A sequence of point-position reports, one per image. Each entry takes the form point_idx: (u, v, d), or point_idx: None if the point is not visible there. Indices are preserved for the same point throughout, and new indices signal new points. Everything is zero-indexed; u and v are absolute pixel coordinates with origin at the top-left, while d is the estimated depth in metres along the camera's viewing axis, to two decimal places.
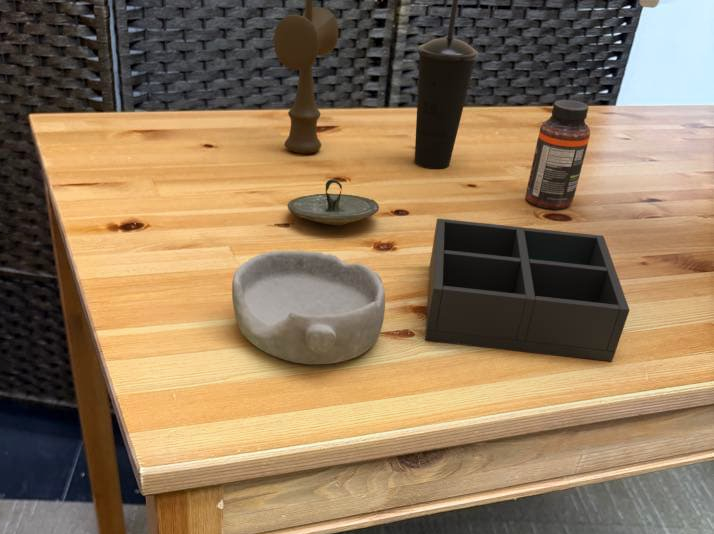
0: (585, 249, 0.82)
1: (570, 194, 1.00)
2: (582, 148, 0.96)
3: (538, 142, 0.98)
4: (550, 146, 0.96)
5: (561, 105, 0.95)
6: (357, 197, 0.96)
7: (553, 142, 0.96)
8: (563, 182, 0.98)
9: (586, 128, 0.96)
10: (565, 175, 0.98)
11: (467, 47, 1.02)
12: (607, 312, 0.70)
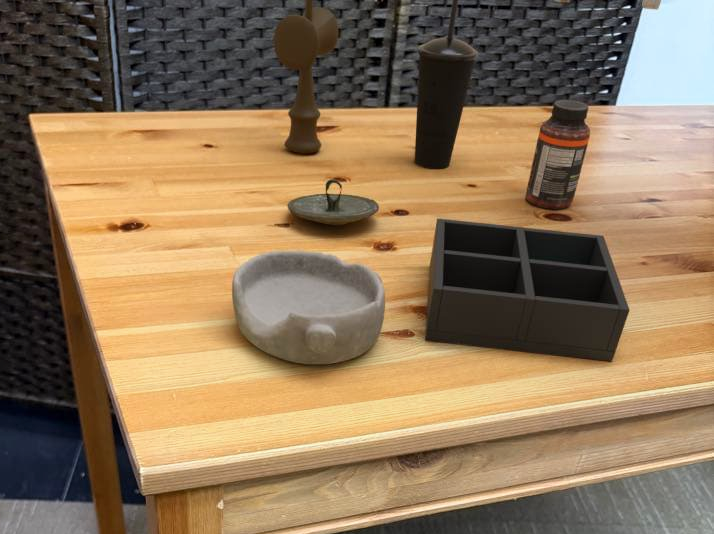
0: (585, 249, 0.82)
1: (570, 194, 1.00)
2: (582, 148, 0.96)
3: (538, 142, 0.98)
4: (550, 146, 0.96)
5: (561, 105, 0.95)
6: (357, 197, 0.96)
7: (553, 142, 0.96)
8: (563, 182, 0.98)
9: (586, 128, 0.96)
10: (565, 175, 0.98)
11: (467, 47, 1.02)
12: (607, 312, 0.70)
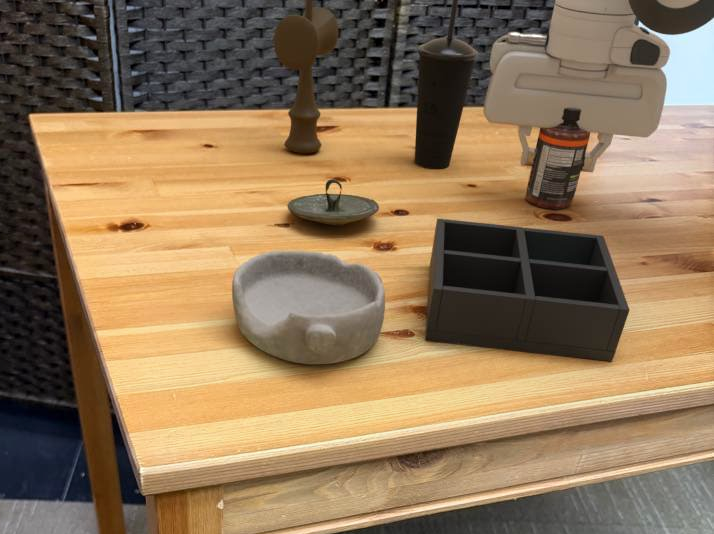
0: (585, 249, 0.82)
1: (570, 194, 1.00)
2: (582, 148, 0.96)
3: (538, 142, 0.98)
4: (549, 146, 0.96)
5: None
6: (357, 197, 0.96)
7: (553, 142, 0.96)
8: (563, 182, 0.98)
9: None
10: (565, 176, 0.98)
11: (467, 47, 1.02)
12: (607, 312, 0.70)
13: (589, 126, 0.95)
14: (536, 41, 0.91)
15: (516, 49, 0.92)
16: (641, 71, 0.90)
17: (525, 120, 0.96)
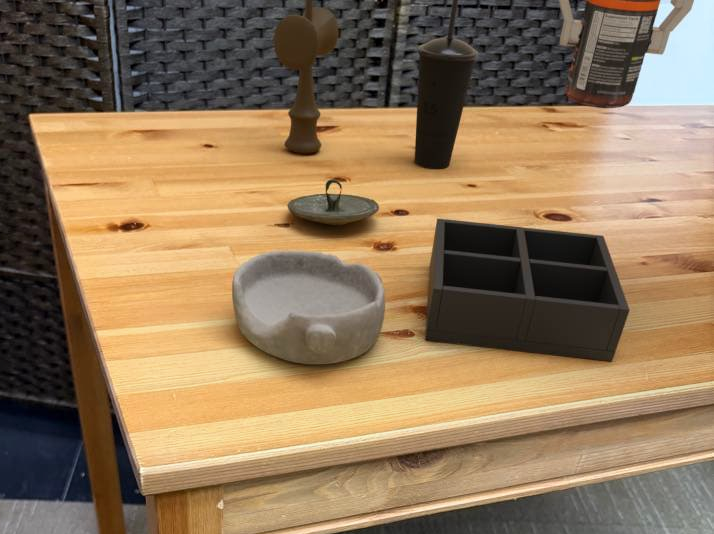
0: (585, 249, 0.82)
1: (630, 87, 0.71)
2: (651, 14, 0.67)
3: (586, 9, 0.69)
4: (604, 11, 0.67)
5: None
6: (357, 197, 0.96)
7: (609, 4, 0.67)
8: (621, 66, 0.69)
9: None
10: (624, 56, 0.69)
11: (467, 47, 1.02)
12: (607, 312, 0.70)
13: None
14: None
15: None
16: None
17: None
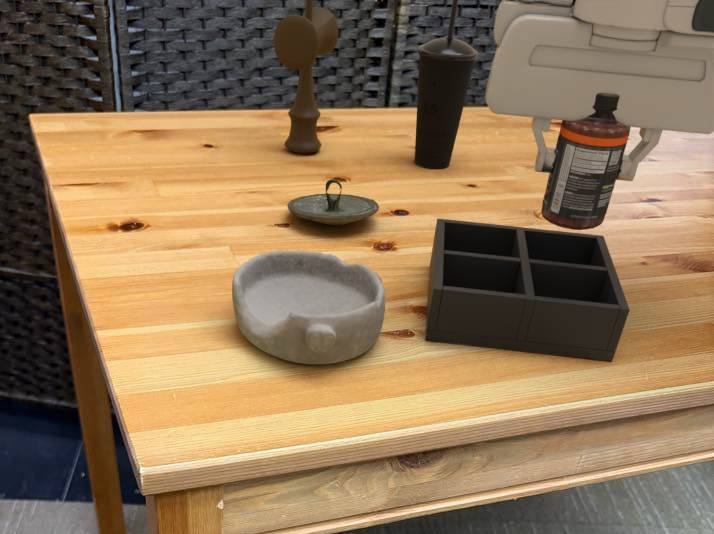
0: (585, 249, 0.82)
1: (602, 211, 0.74)
2: (620, 148, 0.71)
3: (559, 140, 0.72)
4: (575, 145, 0.71)
5: None
6: (357, 197, 0.96)
7: (580, 140, 0.70)
8: (592, 194, 0.73)
9: None
10: (596, 186, 0.72)
11: (467, 47, 1.02)
12: (607, 312, 0.70)
13: (630, 118, 0.69)
14: None
15: (531, 11, 0.66)
16: (706, 41, 0.64)
17: (542, 110, 0.70)
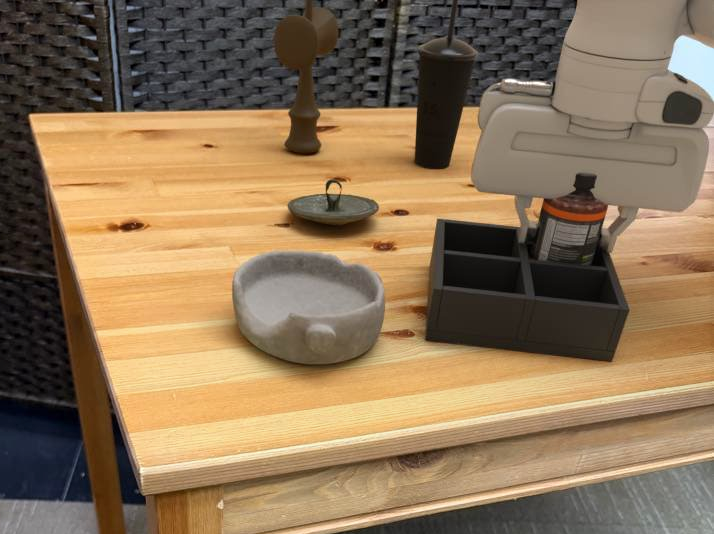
0: None
1: None
2: (598, 222, 0.75)
3: (542, 213, 0.77)
4: (556, 219, 0.75)
5: None
6: (357, 197, 0.96)
7: (561, 215, 0.75)
8: None
9: None
10: (576, 256, 0.77)
11: (467, 47, 1.02)
12: (607, 312, 0.70)
13: (607, 197, 0.74)
14: (539, 91, 0.70)
15: (513, 100, 0.71)
16: (676, 131, 0.69)
17: (524, 189, 0.74)
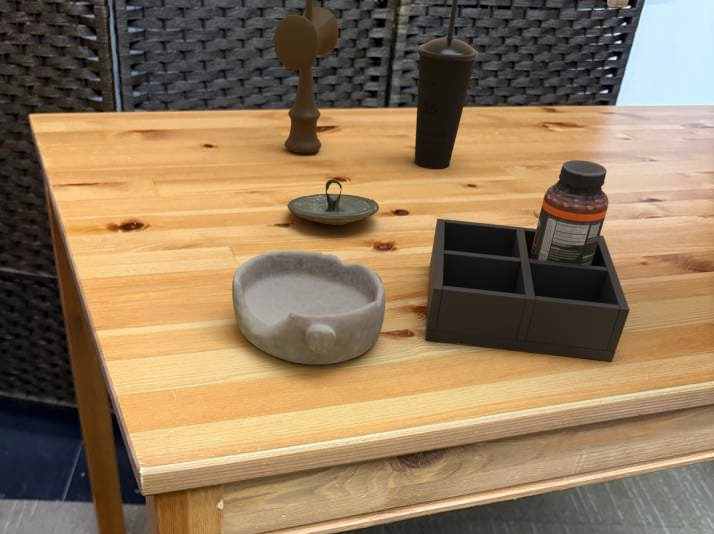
0: None
1: None
2: (598, 222, 0.75)
3: (542, 213, 0.77)
4: (556, 219, 0.75)
5: (571, 169, 0.73)
6: (357, 197, 0.96)
7: (561, 215, 0.75)
8: None
9: (603, 197, 0.75)
10: (576, 256, 0.77)
11: (467, 47, 1.02)
12: (607, 312, 0.70)
13: None
14: None
15: None
16: None
17: None
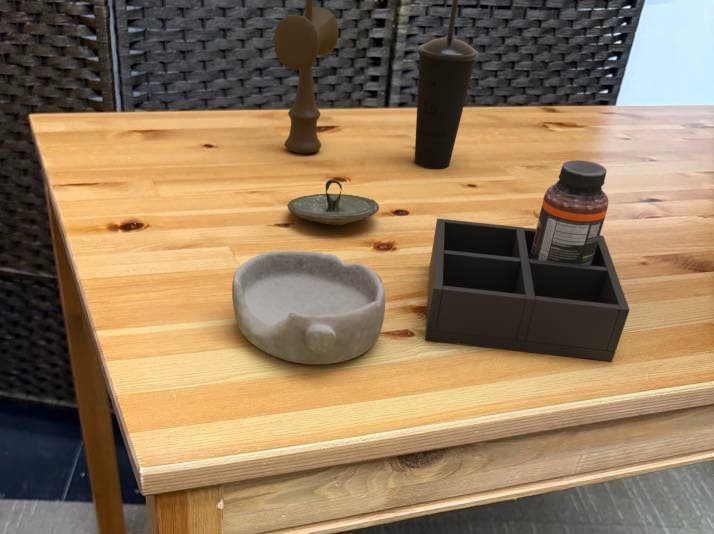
0: None
1: None
2: (598, 222, 0.75)
3: (542, 213, 0.77)
4: (556, 219, 0.75)
5: (571, 169, 0.73)
6: (357, 197, 0.96)
7: (561, 215, 0.75)
8: None
9: (603, 197, 0.75)
10: (576, 256, 0.77)
11: (467, 47, 1.02)
12: (607, 312, 0.70)
13: None
14: None
15: None
16: None
17: None
